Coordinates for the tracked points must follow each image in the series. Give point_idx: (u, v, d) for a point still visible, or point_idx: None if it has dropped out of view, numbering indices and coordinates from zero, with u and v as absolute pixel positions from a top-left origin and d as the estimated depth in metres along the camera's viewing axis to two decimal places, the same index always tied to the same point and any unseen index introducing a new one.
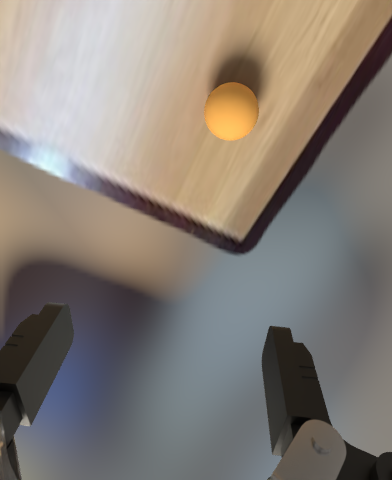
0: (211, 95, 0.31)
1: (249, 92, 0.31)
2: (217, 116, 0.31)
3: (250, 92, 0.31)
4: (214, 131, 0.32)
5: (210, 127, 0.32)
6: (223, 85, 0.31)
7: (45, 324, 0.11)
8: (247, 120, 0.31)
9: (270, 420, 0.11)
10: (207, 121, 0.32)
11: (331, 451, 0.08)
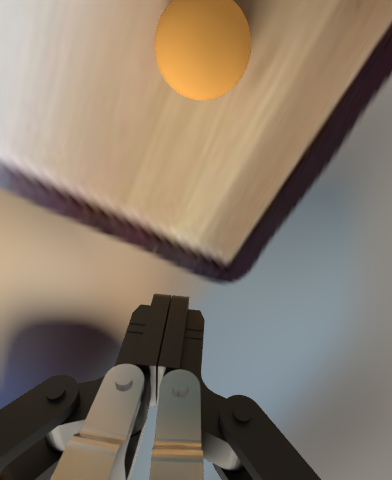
0: (164, 12, 0.17)
1: (233, 3, 0.16)
2: (173, 48, 0.16)
3: (235, 5, 0.17)
4: (172, 81, 0.18)
5: (164, 74, 0.18)
6: None
7: (161, 313, 0.12)
8: (229, 57, 0.17)
9: None
10: (159, 63, 0.18)
11: (184, 393, 0.09)
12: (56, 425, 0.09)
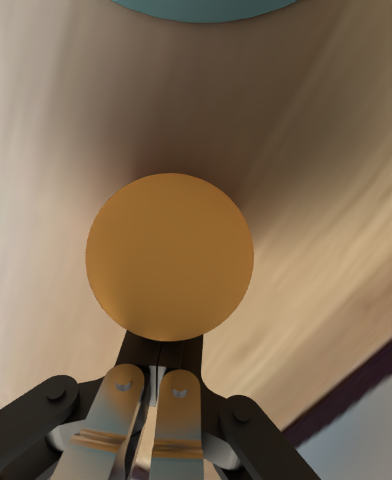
0: None
1: None
2: None
3: None
4: (117, 205, 0.09)
5: (104, 211, 0.09)
6: None
7: None
8: (224, 194, 0.10)
9: None
10: (97, 214, 0.10)
11: (184, 393, 0.09)
12: (56, 425, 0.09)
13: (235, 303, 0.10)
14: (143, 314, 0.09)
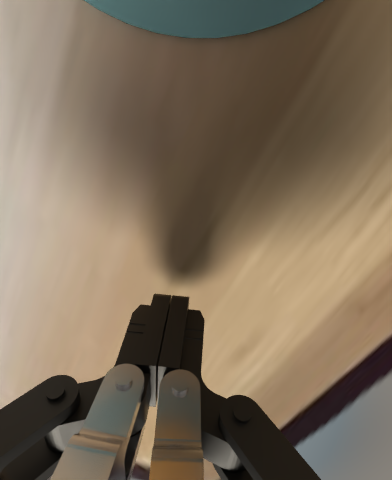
0: None
1: None
2: None
3: None
4: None
5: None
6: None
7: (161, 313, 0.12)
8: None
9: None
10: None
11: (184, 393, 0.09)
12: (56, 425, 0.09)
13: None
14: None
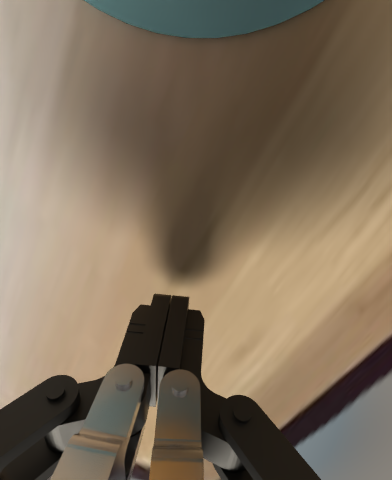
0: None
1: None
2: None
3: None
4: None
5: None
6: None
7: (161, 313, 0.12)
8: None
9: None
10: None
11: (184, 393, 0.09)
12: (56, 425, 0.09)
13: None
14: None
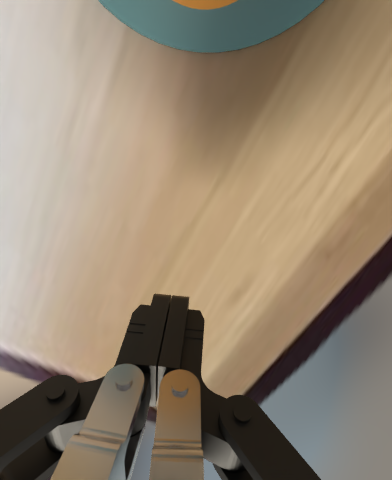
0: None
1: None
2: None
3: None
4: None
5: None
6: None
7: (161, 313, 0.12)
8: None
9: None
10: None
11: (184, 393, 0.09)
12: (56, 425, 0.09)
13: None
14: None
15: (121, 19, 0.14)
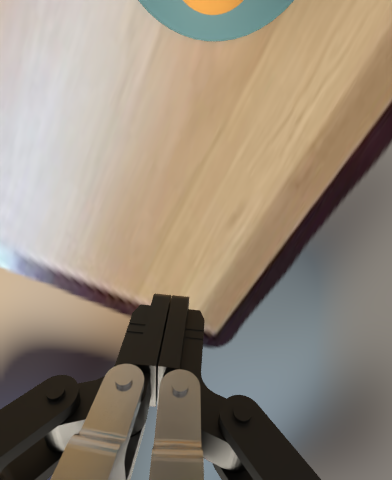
0: None
1: None
2: None
3: None
4: None
5: None
6: None
7: (161, 313, 0.12)
8: None
9: None
10: None
11: (184, 393, 0.09)
12: (56, 425, 0.09)
13: None
14: None
15: (159, 20, 0.23)
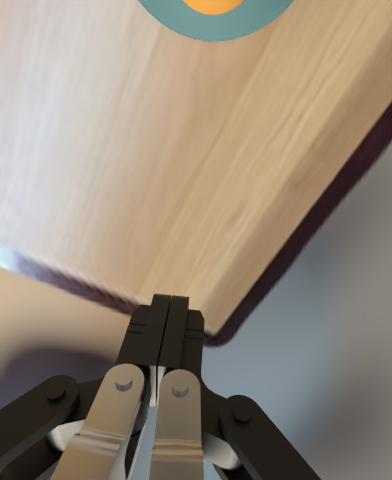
0: None
1: None
2: None
3: None
4: None
5: None
6: None
7: (161, 313, 0.12)
8: None
9: None
10: None
11: (184, 393, 0.09)
12: (56, 425, 0.09)
13: None
14: None
15: (159, 19, 0.23)
